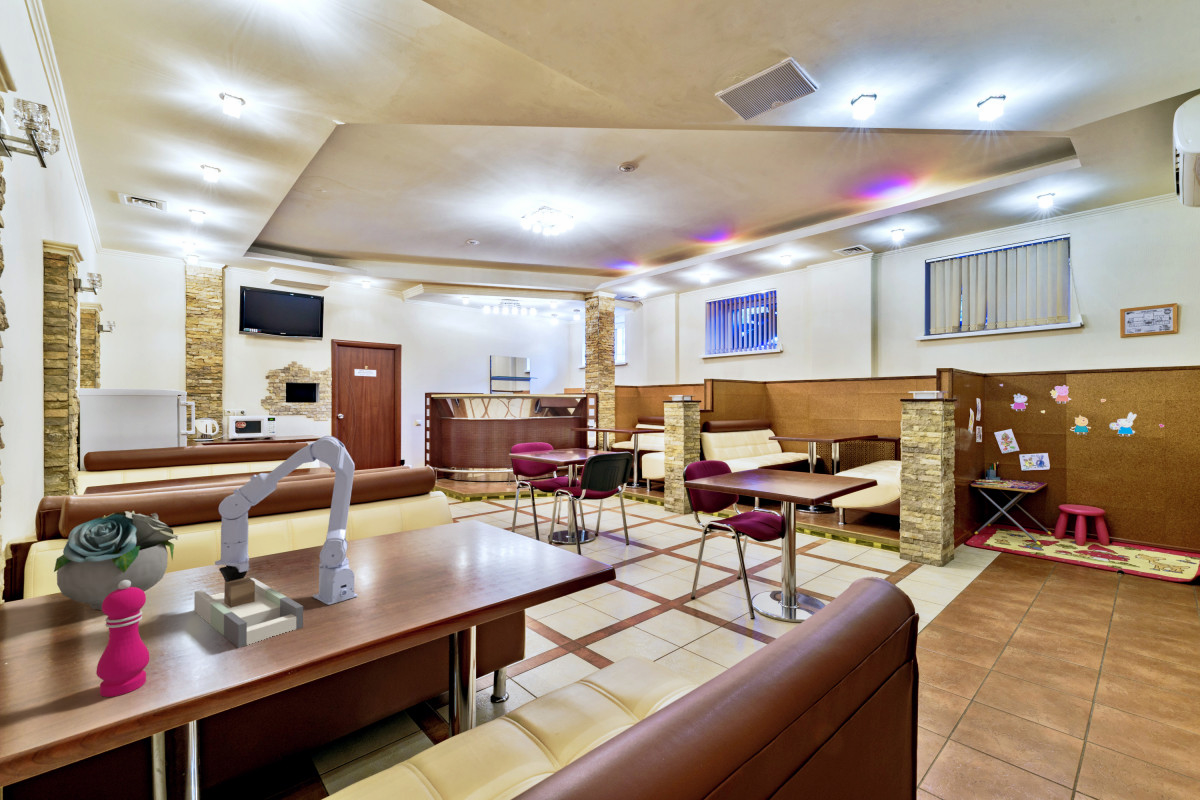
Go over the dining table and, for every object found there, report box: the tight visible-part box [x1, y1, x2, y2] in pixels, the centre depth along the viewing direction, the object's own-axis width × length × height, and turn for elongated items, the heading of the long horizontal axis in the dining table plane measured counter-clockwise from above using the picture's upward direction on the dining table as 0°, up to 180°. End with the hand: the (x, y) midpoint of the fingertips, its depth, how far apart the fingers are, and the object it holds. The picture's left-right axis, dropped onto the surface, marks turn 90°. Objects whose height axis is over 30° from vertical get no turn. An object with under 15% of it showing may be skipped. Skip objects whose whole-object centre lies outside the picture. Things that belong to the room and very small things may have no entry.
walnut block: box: [224, 577, 255, 608], centre depth 127 cm, size 5×5×5 cm
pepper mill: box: [95, 580, 150, 698], centre depth 94 cm, size 7×7×20 cm
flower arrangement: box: [53, 510, 179, 611], centre depth 133 cm, size 25×25×24 cm
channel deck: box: [193, 577, 304, 649], centre depth 124 cm, size 32×13×5 cm, turn 52°
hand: (234, 594), depth 130 cm, fingers closed
